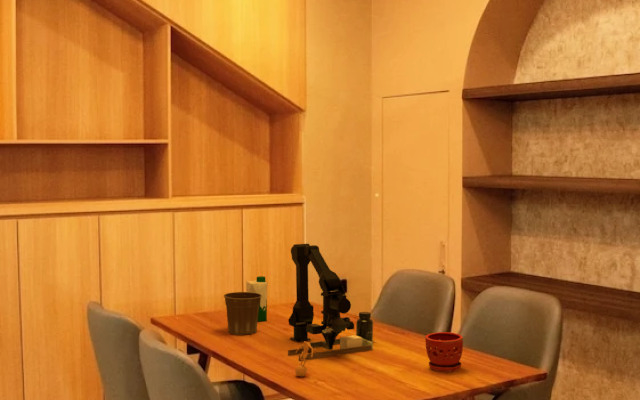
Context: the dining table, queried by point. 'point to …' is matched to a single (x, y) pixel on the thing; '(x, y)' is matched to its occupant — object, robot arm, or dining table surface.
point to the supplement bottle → (364, 326)
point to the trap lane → (365, 347)
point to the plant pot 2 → (444, 351)
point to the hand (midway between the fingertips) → (330, 348)
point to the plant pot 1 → (242, 312)
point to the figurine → (301, 368)
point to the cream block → (350, 341)
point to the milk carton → (261, 288)
